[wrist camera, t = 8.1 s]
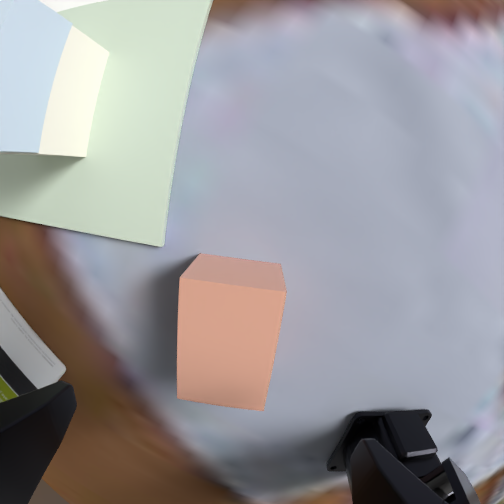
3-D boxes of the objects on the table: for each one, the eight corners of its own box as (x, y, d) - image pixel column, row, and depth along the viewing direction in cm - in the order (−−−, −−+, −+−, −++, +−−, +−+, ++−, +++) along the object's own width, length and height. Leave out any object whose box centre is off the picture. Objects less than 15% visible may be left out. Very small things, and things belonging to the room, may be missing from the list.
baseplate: (164, 245, 15) (161, 247, 14) (-9, 212, 15) (-13, 213, 14) (214, -5, 12) (213, -8, 11) (29, 24, 11) (26, 22, 11)
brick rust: (263, 364, 16) (263, 410, 12) (193, 354, 16) (177, 398, 12) (280, 263, 15) (286, 291, 11) (200, 252, 15) (179, 277, 11)
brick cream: (85, 157, 13) (38, 153, 10) (35, 155, 13) (-12, 154, 10) (109, 52, 12) (71, 24, 8) (56, 59, 12) (15, 40, 8)
